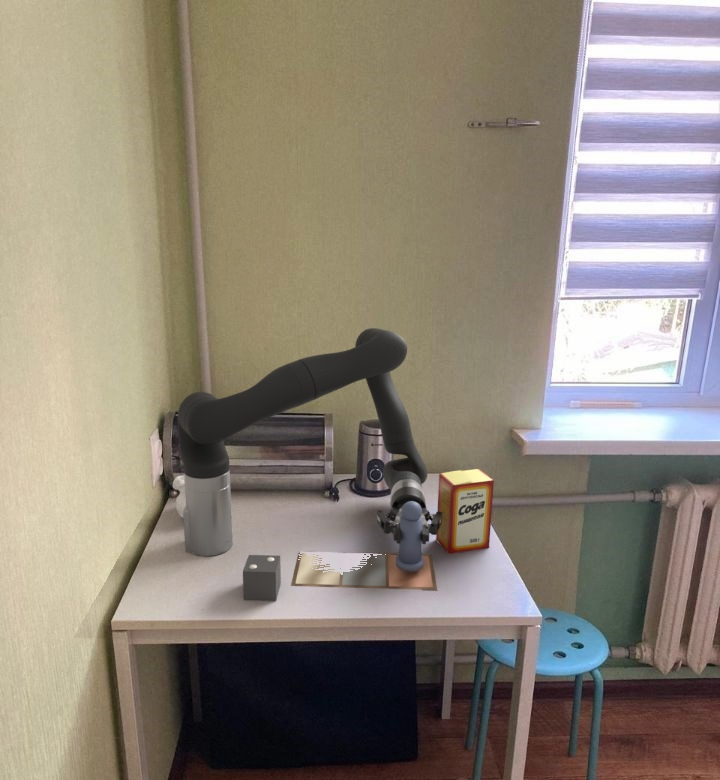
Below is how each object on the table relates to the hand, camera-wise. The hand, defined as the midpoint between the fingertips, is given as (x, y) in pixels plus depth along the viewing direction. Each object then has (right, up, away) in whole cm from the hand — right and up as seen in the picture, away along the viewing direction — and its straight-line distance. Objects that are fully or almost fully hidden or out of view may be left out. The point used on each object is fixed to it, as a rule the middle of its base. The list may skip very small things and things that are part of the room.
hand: (411, 539), depth 128 cm
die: (-28, -9, -3) cm, 30 cm away
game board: (-9, -7, +5) cm, 13 cm away
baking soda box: (+12, -5, +16) cm, 21 cm away
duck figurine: (-49, -1, +27) cm, 56 cm away
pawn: (0, -6, +4) cm, 7 cm away
